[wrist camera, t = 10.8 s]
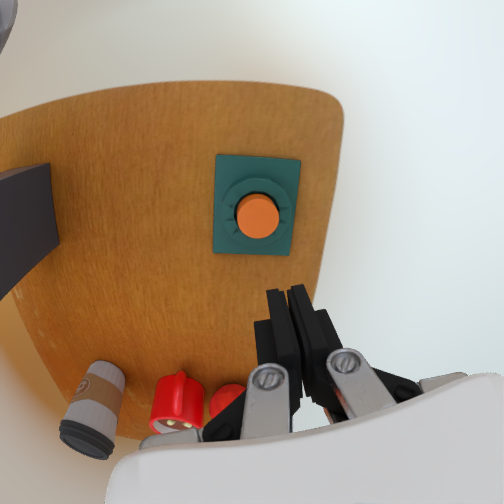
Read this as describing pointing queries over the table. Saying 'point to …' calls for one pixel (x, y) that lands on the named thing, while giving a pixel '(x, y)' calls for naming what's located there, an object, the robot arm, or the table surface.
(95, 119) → the table surface
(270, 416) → the robot arm
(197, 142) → the table surface
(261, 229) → the button
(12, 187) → the tall knob tower
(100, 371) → the coffee cup
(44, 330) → the table surface
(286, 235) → the push button base
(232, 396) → the apple
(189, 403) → the mug
